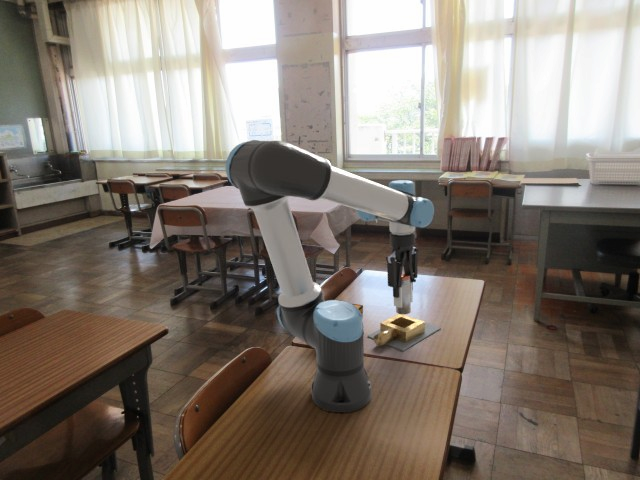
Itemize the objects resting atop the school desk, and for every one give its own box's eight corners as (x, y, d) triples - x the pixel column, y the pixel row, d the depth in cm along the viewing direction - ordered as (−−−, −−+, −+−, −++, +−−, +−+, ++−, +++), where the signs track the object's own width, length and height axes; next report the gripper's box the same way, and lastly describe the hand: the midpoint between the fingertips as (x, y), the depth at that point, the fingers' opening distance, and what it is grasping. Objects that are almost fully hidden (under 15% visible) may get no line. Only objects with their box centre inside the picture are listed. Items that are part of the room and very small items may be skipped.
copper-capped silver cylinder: (404, 315, 137) (404, 279, 134) (393, 311, 141) (392, 276, 138) (413, 310, 140) (413, 275, 137) (402, 307, 144) (401, 272, 140)
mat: (403, 351, 131) (403, 350, 131) (367, 336, 141) (367, 335, 141) (440, 328, 144) (440, 327, 144) (405, 316, 154) (405, 315, 154)
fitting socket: (391, 351, 131) (391, 340, 130) (365, 340, 138) (365, 330, 137) (424, 332, 142) (425, 321, 141) (399, 323, 149) (399, 313, 148)
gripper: (393, 240, 125) (395, 316, 131) (429, 227, 137) (429, 298, 143) (373, 236, 131) (375, 309, 137) (409, 224, 142) (410, 292, 148)
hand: (403, 303), depth 140 cm, fingers closed on copper-capped silver cylinder, 5 cm apart
